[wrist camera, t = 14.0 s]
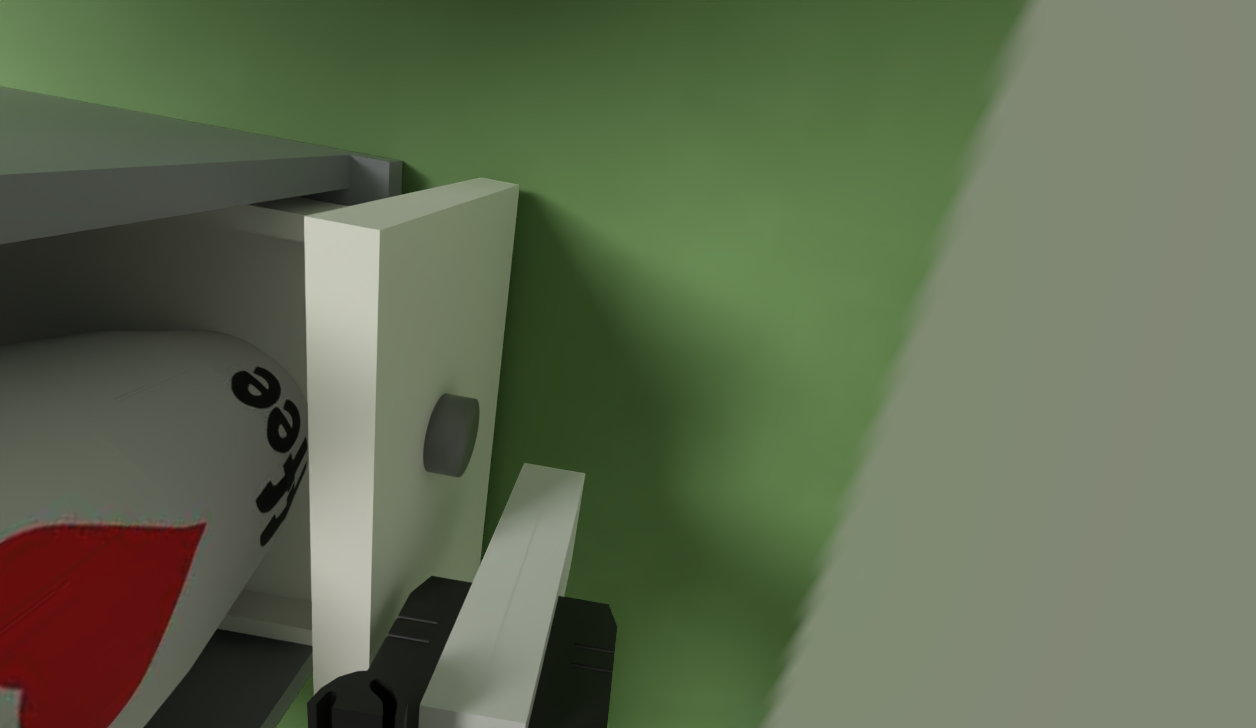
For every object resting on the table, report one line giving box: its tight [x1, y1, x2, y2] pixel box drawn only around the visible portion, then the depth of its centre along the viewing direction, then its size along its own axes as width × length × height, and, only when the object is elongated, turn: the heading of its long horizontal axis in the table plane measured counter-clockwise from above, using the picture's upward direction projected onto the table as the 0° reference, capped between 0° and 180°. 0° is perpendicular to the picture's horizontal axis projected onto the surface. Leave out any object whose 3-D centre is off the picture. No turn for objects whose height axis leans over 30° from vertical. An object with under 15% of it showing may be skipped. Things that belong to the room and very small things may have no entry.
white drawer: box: [0, 177, 520, 695], centre depth 14 cm, size 14×15×8 cm
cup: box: [0, 330, 309, 728], centre depth 12 cm, size 8×8×10 cm
